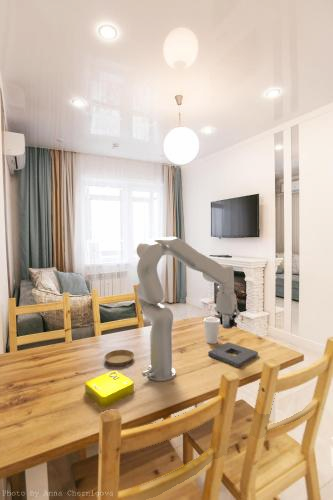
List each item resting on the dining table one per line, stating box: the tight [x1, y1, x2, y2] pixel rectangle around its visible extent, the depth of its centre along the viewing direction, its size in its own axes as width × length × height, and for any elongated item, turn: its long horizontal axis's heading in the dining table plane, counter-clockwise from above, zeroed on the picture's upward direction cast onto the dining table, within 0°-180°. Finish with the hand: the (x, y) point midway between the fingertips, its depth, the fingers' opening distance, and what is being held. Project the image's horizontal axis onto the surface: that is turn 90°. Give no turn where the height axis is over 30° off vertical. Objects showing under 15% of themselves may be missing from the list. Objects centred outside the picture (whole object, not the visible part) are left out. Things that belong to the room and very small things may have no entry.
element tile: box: [84, 369, 135, 408], centre depth 106 cm, size 15×15×5 cm
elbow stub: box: [221, 313, 233, 330], centre depth 135 cm, size 5×5×8 cm
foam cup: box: [203, 316, 221, 345], centre depth 155 cm, size 10×9×13 cm
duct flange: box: [207, 341, 259, 368], centre depth 137 cm, size 18×18×2 cm
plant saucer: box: [104, 349, 135, 367], centre depth 133 cm, size 15×15×3 cm
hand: (227, 324), depth 135 cm, fingers closed on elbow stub, 5 cm apart
